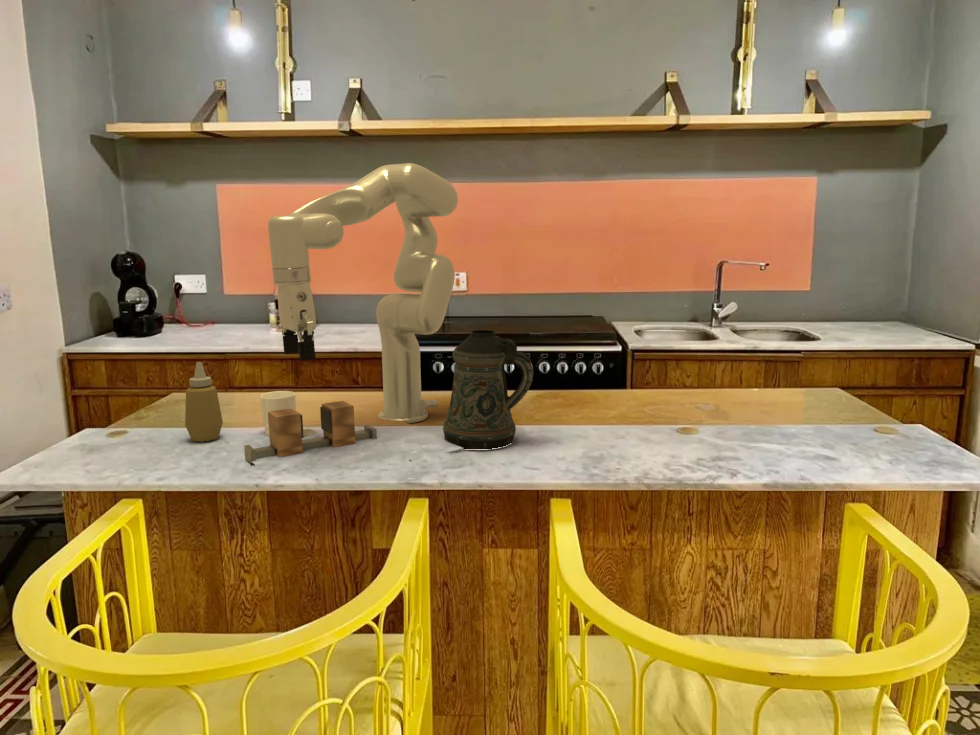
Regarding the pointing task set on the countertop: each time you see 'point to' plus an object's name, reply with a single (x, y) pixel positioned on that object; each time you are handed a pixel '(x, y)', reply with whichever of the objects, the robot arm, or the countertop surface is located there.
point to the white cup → (276, 404)
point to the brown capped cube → (286, 431)
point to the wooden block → (338, 422)
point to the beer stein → (484, 392)
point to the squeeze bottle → (202, 408)
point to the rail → (305, 444)
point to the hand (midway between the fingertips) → (299, 356)
